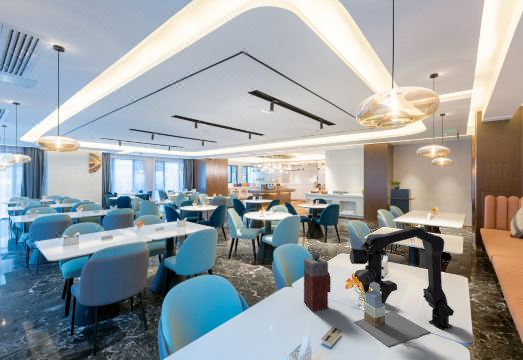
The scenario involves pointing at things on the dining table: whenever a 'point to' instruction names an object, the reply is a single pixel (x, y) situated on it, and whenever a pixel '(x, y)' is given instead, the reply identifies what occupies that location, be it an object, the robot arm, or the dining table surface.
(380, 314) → the tower mid
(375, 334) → the placemat
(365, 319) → the tower base
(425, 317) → the dining table surface
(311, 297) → the dark red bottle
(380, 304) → the cube
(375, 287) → the skincare box
